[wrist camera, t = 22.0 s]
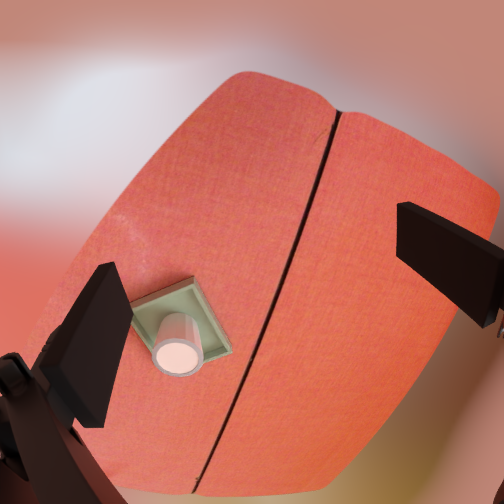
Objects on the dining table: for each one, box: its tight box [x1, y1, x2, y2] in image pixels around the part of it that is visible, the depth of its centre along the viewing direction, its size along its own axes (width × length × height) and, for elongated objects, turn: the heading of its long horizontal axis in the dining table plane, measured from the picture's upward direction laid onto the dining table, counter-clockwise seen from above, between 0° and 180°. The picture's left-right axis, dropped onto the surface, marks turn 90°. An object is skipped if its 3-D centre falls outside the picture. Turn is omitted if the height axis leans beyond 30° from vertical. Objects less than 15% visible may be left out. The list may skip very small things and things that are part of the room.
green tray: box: [130, 276, 233, 363], centre depth 43 cm, size 13×11×2 cm
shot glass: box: [152, 313, 204, 377], centre depth 41 cm, size 7×7×7 cm
